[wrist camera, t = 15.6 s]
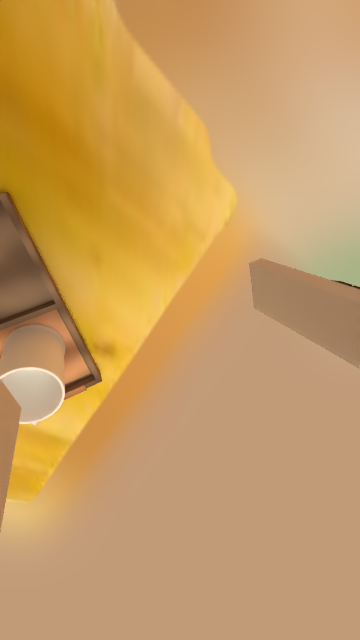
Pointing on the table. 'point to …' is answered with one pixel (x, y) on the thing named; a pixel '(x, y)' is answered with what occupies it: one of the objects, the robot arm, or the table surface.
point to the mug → (34, 371)
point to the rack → (37, 299)
